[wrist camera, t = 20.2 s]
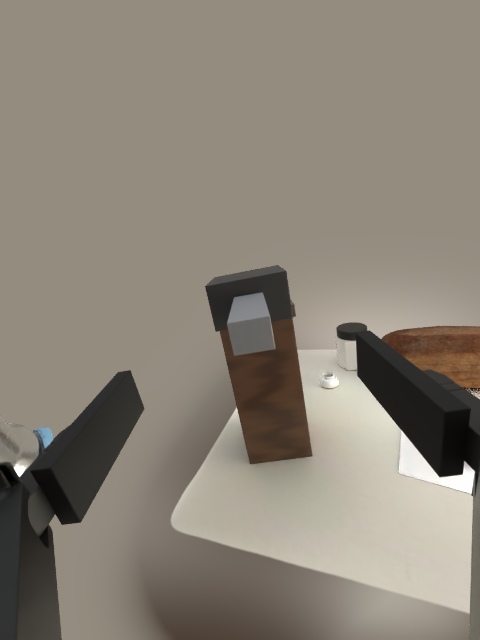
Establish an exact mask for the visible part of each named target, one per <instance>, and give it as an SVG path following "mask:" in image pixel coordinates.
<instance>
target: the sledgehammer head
mask: <svg viewBox="0 0 480 640" xmlns="http://www.w3.org/2000/svg"><path fill="white" fill-rule="evenodd" d="M205 287H206V292H207V296H208V300H209V305H210V309H211V313H212V318H213V322H214V326H215V331H216V332H217V331H223V330H228V331H229V336H230V340H231V345H232V349H233V354H234V356H237V355H243V354H249V353H255V352H261V351H267V350H273V349H275V343H274V337H273V331H272V325H271V322H274V321H279V320H285V319H291V318H293V315H292V308H291V301H290V294H289V287H288V280H287V273H286V271H285V270H284V269H283V268H281V267H280V266H278V265H276V266H271V267H266V268H261V269H255V270H250V271H245V272H240V273H235V274H230V275H225V276H220V277H215V278H214V279H213V280H211V281H210V282H209V283H208V284H207V285H206V286H205Z"/></svg>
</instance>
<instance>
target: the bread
mask: <svg viewBox="0 0 480 640" xmlns="http://www.w3.org/2000/svg"><path fill="white" fill-rule="evenodd" d="M381 340H383V341H384V342H385V343H386V344H388V345H389V346H390V347H392V348H393V349H394V350H396V351H397V352H398V353H399V354H401V355H402V356H403V357H405V358H406V359H407V360H409V361H410V362H411V363H413V364H414V365H415V366H416V367H418V368H419V369H420V370H429V369H431V370H434V371H436V372H439V373H441V374H444V375H445V376H447V377H448V378H450V379H451V380H453V381H454V382H455V384H456V383H457V384H458V385H460V386H461V387H467V388H480V327H476V326H474V327H473V326H436V327H423V328H413V329H403V330H398V331H394V332H391V333H389V334H387V335H385V336H384V337H383V338H382V339H381Z"/></svg>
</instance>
